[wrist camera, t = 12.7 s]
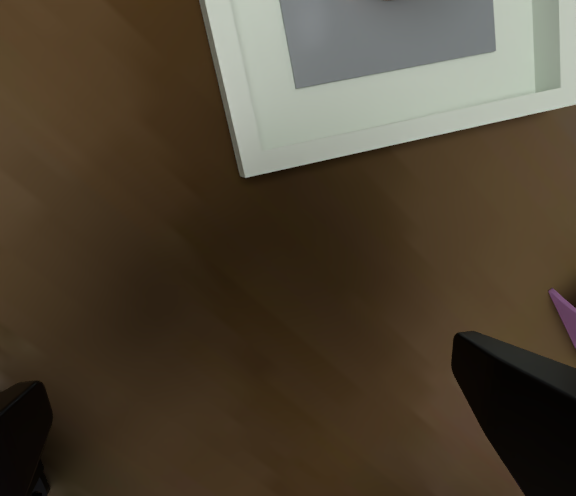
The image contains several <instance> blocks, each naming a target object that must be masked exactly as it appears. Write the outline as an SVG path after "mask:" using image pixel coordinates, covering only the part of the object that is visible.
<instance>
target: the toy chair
mask: <svg viewBox="0 0 576 496" xmlns="http://www.w3.org/2000/svg"><path fill="white" fill-rule="evenodd" d="M548 292H549V294H550V296H551V298H552V301H553V303H554V305H555V307H556V309H557V311H558V313H559V315H560V317H561V319H562V321H563V324H564V326H565V328H566V330H567V332H568V334H569V336H570V338H571V340H572V342H573V344H574V347H575V349H576V308H575V307H574V306H572V305H571V304H570V303H569V302H568V301H567V300H565V299H564V298H563V297H562V296H561V295H560V294H559V293H558V292H557V291H555V290H554V289H553V288H551V289H550V290H549V291H548Z"/></svg>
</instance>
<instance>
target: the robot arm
mask: <svg viewBox="0 0 576 496" xmlns="http://www.w3.org/2000/svg"><path fill="white" fill-rule="evenodd" d="M451 366H452V371H453V374H454V376H455V378H456V380H457V382H458V384H459V386H460V388H461V390H462V392H463V394H464V396H465V397H466V399H467V401H468V403H469V405H470V407H471V409H472V411H473V413H474V415H475V417H476V418H477V420H478V422H479V424H480V426H481V428H482V430H483V431H484V433H485V435H486V436H487V438H488V440H489V441H490V443H491V444H492V446H493V447H494V449H495V451H496V452H497V454H498V455H499V457H500V458H501V460H502V461H503V463H504V464H505V466H506V467H507V469H508V470H509V472H510V473H511V475H512V476H513V478H514V479H515V481H516V482H517V484H518V485H519V487H520V489H521V490H522V492H523V493H524V495H525V496H576V368H573V367H571V366H568V365H565V364H562V363H560V362H557V361H554V360H552V359H549V358H546V357H543V356H541V355H538V354H535V353H533V352H530V351H527V350H524V349H522V348H519V347H516V346H513V345H511V344H508V343H505V342H503V341H500V340H497V339H494V338H492V337H489V336H486V335H483V334H481V333H478V332H475V331H467V332H459V333H457V334H456V335H455V336H454V339H453V350H452V361H451ZM52 420H53V414H52V409H51V406H50V403H49V399H48V396H47V393H46V390H45V387H44V384H43V383H42V382H40V381H28V382H20V383H17V384H15V385H14V386H12V387H10V388H8V389H7V390H5V391H3V392H1V393H0V496H47V495H48V493H49V490H50V487H49V484H48V482H47V479H46V477H45V475H44V473H43V469H44V466H43V464H42V462H41V460H40V456H41V453H42V450H43V447H44V445H45V442H46V439H47V436H48V433H49V431H50V428H51V425H52ZM35 491H39V492H41V493H36V492H35Z"/></svg>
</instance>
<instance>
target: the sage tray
mask: <svg viewBox="0 0 576 496" xmlns="http://www.w3.org/2000/svg"><path fill="white" fill-rule="evenodd" d="M199 2H200V7H201V11H202V15H203V19H204V24H205V28H206V32H207V37H208V41H209V45H210V50H211V54H212V58H213V62H214V67H215V71H216V75H217V80H218V84H219V88H220V93H221V97H222V101H223V106H224V110H225V114H226V118H227V123H228V127H229V131H230V136H231V140H232V144H233V149H234V153H235V157H236V161H237V166H238V170H239V174H240V176H241V177H244V178H247V177H252V176H256V175H261V174H265V173H270V172H274V171H279V170H283V169H288V168H292V167H297V166H301V165H306V164H310V163H315V162H319V161H324V160H328V159H333V158H337V157H342V156H346V155H351V154H355V153H360V152H364V151H369V150H373V149H378V148H382V147H387V146H391V145H396V144H400V143H405V142H409V141H414V140H418V139H423V138H427V137H432V136H436V135H441V134H445V133H450V132H454V131H459V130H463V129H468V128H472V127H477V126H481V125H486V124H490V123H495V122H499V121H504V120H508V119H513V118H517V117H522V116H526V115H531V114H535V113H540V112H544V111H549V110H553V109H558V108H562V107H567V106H571V105H575V104H576V0H391V1H384V0H199Z"/></svg>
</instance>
